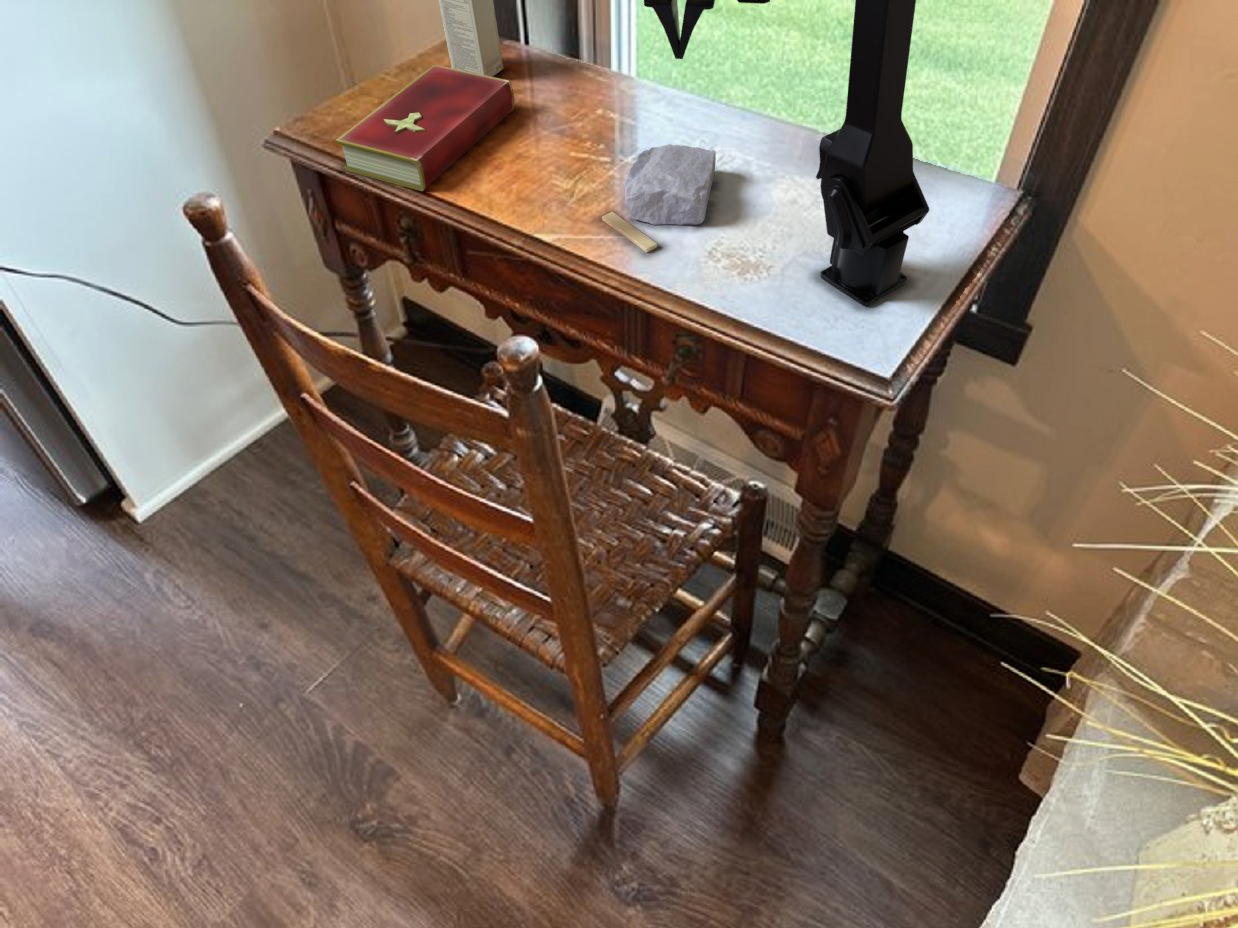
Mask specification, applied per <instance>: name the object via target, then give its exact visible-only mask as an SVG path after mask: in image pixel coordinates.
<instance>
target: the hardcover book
mask: <svg viewBox="0 0 1238 928" xmlns="http://www.w3.org/2000/svg"><path fill="white" fill-rule="evenodd" d="M514 109H515V93H514V89H513V85H512V82H511V81H510V80H509V79H505V78H504V79H503V78H499V77H495V76H493V77H490V76H486V75H481V74H477V73H472V72H467V71H463V70H458V69H454V68H452V67H449V66H445V65H439V64H435V63H434V64H433V65H431V66H429V68H427V69H426V70H425V71H423V72H422V73H421V74H419V75H418V76H417V77H416V78H414V79H413V80H412V81H410V82H409V83H408V84H406V85H405V86H404V87H403V88H401V89H400V90H398V92H396V93H395V94H394V95H392V96H391V97H390V98H388V99H387V100H385V101H384V102H383V103H382V104H380V105H379V106H378V107H376V108H375V109H374V110H373V111H371V112H370V113H369V114H368V115H365V117H364V118H362V119H361V120H360V121H358V122H357V123H356V124H355V125H353V126H352V127H351V128H349V129H348V130H347V131H345V132H344V133H343V134H341V135H340V136H338V137H337V138H336V139H335V140H334V141H335V143H336V144H337V145H341V149H342V151H343V156H344V159H345V162H346V164H345V165H344V166H343V167H342V169H343V171H346V172H350V173H354V174H355V175H359V176H365V177H367V178H371V179H376V180H379V181H383V182H386V183H390V184H394V185H397V186H402V187H404V188H409V189H412V190H416V191H419V192H424V191H425V190H426V189H427V188H428V187H429V186H430V185H431V184H433V183H434V182H435V181H436V180H437V179H438V178H440V177H441V176H442V174H444V173H445V172H446V171H447V170H448V169H449V168H450V167H452V166H453V165H454V164H455V163H456V162H457V161H458V160H459V159H460V158H461V157H462V156H464V155H465V154H466V153H467V152H468V151H469V150H471V148H473V147H474V146H475V145H476V144H477V143H478V142H479V141H480V140H481V139H482V138H484V137H485V136H486V135H487V134H488V133H489V132H490V131H492V129H493V128H495V127H496V126H497V125H498V124H500V122H501V121H503V120H504V119H505V118H506V117H507V116H508V115H509V114H510V113H512V112H513V111H514Z"/></svg>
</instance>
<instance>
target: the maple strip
mask: <svg viewBox="0 0 1238 928" xmlns="http://www.w3.org/2000/svg"><path fill="white" fill-rule="evenodd" d="M601 219H602V221H603V222H604V223H606V224H607V225H608V226H610V227H611V228H612V229H614V230H615V231H616V232H618V233H619V234H620V235H622V236H623V237H625V238H626V240H627V239H628V241H630V242H631V243H633V244H634V245H636V246H637V247H638V248H640V249H641V250H643V252H645V253H649V252H651V251H653V250H655V249H658V243H657V242H655V241H654V240H653V239H651V238H650V237H648V236H647V235H645V234H644V232H642V231H640V230H639V229H637V228H636V227H635V226H634V225H631V223H629V222H627V220H626V219H623V218H622V217H621V216H619V215H618V214H616V213H615V212H614V211H611V212H609V213H607V214H604V215H603V216H601Z"/></svg>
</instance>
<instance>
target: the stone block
mask: <svg viewBox="0 0 1238 928" xmlns="http://www.w3.org/2000/svg"><path fill="white" fill-rule="evenodd" d="M716 155H717V152H716V151H715V150H714V149H712V150H709V149H706V148H700V147H695V146H689V145H681V144H666V145H665V144H664V145H660V146H653V147H650V148H648V149H645V150H643V151H641V152H640V153H638V154H637V156H636V161H635V162H633V164H632V165H631V167H630V169H629V171H628V173H627V176H626V179H625V181H624V184H623V189H624V204H625V208H626V209H627V212H628V214H629V215H630V216H631V218H632V219H633V220H636V221H640V222H644V223H648V224H651V225H654V226H659V225H678V226H683V225H686V226H687V225H693V226H696V225H701V224H703V222H704V221H705V219H706V213H707V209H708V205H709V200H710V194H711V190H712V189H711V188H712V185H713V181H714V176H715V172H716V157H717V156H716Z"/></svg>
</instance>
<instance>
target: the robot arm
mask: <svg viewBox="0 0 1238 928" xmlns="http://www.w3.org/2000/svg"><path fill="white" fill-rule="evenodd" d="M736 1H737V2H738V3H739V4H759V5H760V4H761V5H762V4H763V5H764V4H767V3H770V2H771V0H736ZM715 3H716V0H685V4H684V11H683V16H682V26H681V29H680V17H679V16H680V15H679V6H678V0H643V7H646V8H652V9H653V11H654V13H655V14H656V16H657V18H658V20H659V22H660V24H661V26H662V27H663V30H664V33H665V35H666V37H667V40H668V43H669V46H670V47H671V48H670V49H671V51H672V54H673V56H674V59H675V60H683V59H684V56H685V54H686V51H687V49H688V45H689V42H690V40H691V37H692V34H693V32H694V29H695V27H696V25H697V23H698V22H699V19H700V18H701V15H702V14H703V13H704V11H705V10H708V11H709V10H712V9H714V8H715ZM916 4H917V0H855V1H854V12H853V25H852V35H851V36H852V37H851V48H850V51H851V52H850V59H849V60H850V61H849V72H848V83H847V95H846V109H845V116H844V120H843V123H842V125H841V126H840V128H839V129H837V130H835V131H833V132H830V133H829V134H826V135H824V136H822V137H821V139H820V143H819V147H818V150H819V167H818V171H817V173H816V175H815V178H816V180H820V194H821V198H822V202H823V211H824V218H825V226H826V233H827V235H828V236H830V237H831V238H832V239H833V240H832V245H831V250H830V257H829V264H830V266H828V267H827V268H825V269H822V271H820V273H819V274H820V275H819V276H820V277H819V278H821V279H822V280H823V281H824V282H826V283H828V284H830V285H831V286H832V287H835V289H837V290H838V291H840V292H842V293H843V294H845V295H846V296H847V297H850V298H851V299H852V300H854V301H856V302H857V303H859V304H860V305H861V306H870V305H871V304H873V303H875V302H876V301H878V300H879V299H881V298H883V297H885V296H886V295H888V294H890V293H891V292H893V291H894V290H896V289H898V288H900V287H901V286H903V285H905V284H906V283H907V282H908V276H907V275H906V274H904V273H903V272H901V271H902V267H903V262H904V258H905V253H906V250H907V246H908V242H909V238H910V236H909V235H908V234H907V233H905V231H906V230H909V229H910V228H912V227H913V226H917V225H919V224H921V223H922V222H923V221H924V219H925V218H926V216H927V215H928V214H929V212H930V207H929V204H928V202H927V199H926V197H925V196H924V192H923V190H922V188H921V186H920V183H919V181H918V179H917V177H916V173H914V144H913V141H912V138H911V136H910V134H909V132H908V130H907V128H906V126H905V124H904V122H903V120H902V118H903V117H902V114H903V106H904V97H905V89H906V82H907V75H908V65H909V58H910V51H911V43H912V35H913V28H914V21H915V11H916Z"/></svg>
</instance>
